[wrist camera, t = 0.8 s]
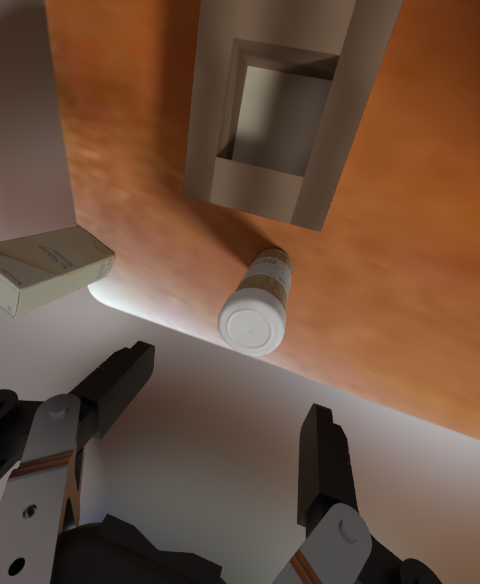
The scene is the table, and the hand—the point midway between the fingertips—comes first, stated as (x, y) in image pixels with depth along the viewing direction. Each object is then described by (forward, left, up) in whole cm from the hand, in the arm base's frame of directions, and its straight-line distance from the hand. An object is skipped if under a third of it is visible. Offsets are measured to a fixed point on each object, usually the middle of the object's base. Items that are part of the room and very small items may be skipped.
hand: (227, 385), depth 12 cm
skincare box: (+24, +5, -18) cm, 31 cm away
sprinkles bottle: (0, 0, -18) cm, 18 cm away
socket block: (+3, -13, -18) cm, 23 cm away
